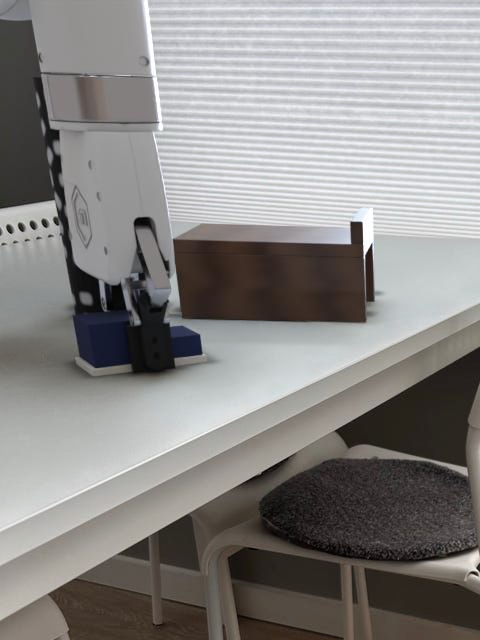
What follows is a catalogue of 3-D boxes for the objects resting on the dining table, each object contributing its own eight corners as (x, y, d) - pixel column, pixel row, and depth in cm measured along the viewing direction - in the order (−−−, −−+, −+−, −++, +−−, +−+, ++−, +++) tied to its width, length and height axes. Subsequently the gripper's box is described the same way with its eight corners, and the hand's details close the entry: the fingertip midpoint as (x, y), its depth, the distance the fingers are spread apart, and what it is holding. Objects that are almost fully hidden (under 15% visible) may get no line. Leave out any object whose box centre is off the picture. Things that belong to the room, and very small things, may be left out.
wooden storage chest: (181, 318, 93) (168, 215, 88) (209, 295, 103) (199, 202, 98) (365, 322, 93) (362, 221, 89) (375, 299, 104) (372, 207, 99)
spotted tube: (182, 311, 95) (153, 80, 85) (123, 326, 89) (84, 78, 79) (118, 302, 98) (83, 78, 88) (56, 316, 92) (11, 76, 82)
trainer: (94, 385, 72) (84, 325, 69) (77, 372, 75) (66, 314, 72) (208, 370, 76) (202, 313, 74) (188, 358, 79) (181, 303, 77)
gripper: (16, 101, 70) (64, 352, 79) (86, 109, 58) (132, 402, 68) (118, 103, 74) (152, 342, 83) (202, 111, 62) (231, 388, 72)
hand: (143, 367), depth 75 cm, fingers closed on trainer, 4 cm apart
